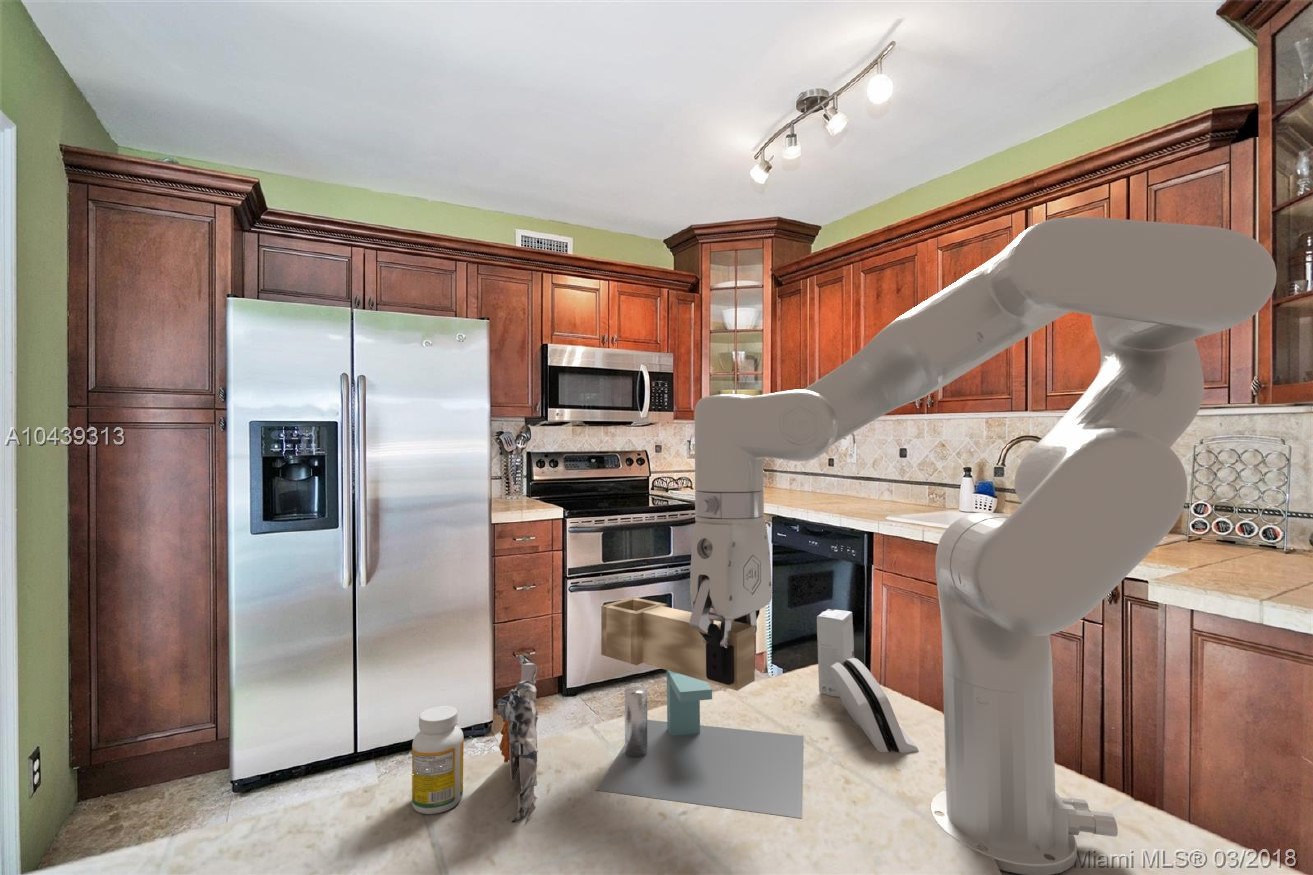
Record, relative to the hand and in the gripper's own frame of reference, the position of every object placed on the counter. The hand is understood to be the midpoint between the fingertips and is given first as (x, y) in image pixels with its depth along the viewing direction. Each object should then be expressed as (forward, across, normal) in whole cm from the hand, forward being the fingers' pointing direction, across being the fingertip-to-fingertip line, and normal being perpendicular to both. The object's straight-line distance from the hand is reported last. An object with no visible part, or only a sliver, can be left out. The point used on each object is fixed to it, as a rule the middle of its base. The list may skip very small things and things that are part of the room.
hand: (730, 673), depth 65 cm
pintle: (+13, 0, +14) cm, 19 cm away
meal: (+14, -13, +20) cm, 28 cm away
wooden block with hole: (+1, 0, +8) cm, 8 cm away
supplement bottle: (+14, -20, +26) cm, 35 cm away
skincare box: (+14, +37, +4) cm, 40 cm away
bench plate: (+14, +4, +6) cm, 16 cm away
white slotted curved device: (+14, +26, -6) cm, 30 cm away
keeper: (+13, +6, +10) cm, 18 cm away
